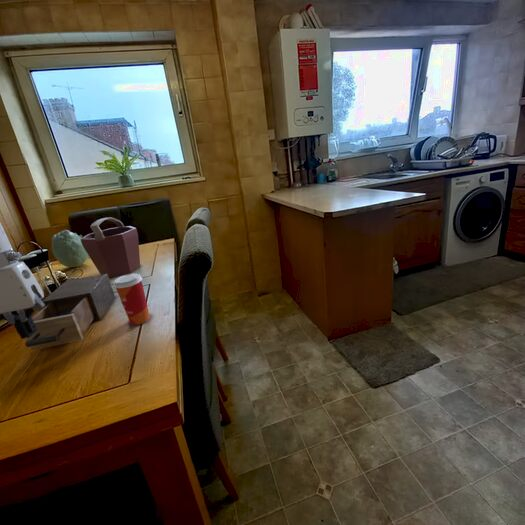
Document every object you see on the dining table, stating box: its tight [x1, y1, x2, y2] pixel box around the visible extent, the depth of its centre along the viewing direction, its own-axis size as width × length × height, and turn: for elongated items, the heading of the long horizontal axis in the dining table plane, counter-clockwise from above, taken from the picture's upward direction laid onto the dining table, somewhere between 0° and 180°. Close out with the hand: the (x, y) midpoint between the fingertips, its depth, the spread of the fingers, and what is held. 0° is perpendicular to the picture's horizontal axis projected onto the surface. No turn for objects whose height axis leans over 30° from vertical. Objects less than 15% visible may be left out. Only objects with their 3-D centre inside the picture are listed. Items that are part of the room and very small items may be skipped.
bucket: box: [80, 216, 141, 278], centre depth 128 cm, size 24×22×25 cm
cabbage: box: [51, 229, 90, 268], centre depth 144 cm, size 16×19×20 cm
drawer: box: [24, 295, 96, 351], centre depth 78 cm, size 20×12×8 cm, turn 12°
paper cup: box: [113, 273, 151, 326], centre depth 82 cm, size 8×8×14 cm
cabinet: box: [42, 274, 116, 322], centre depth 93 cm, size 17×14×10 cm
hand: (29, 334), depth 65 cm, fingers closed
